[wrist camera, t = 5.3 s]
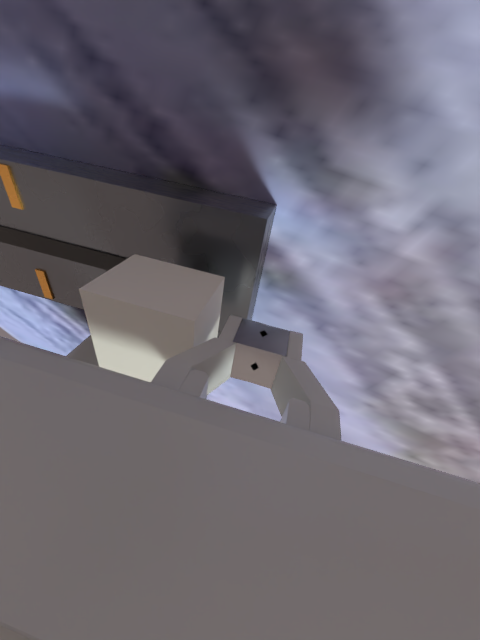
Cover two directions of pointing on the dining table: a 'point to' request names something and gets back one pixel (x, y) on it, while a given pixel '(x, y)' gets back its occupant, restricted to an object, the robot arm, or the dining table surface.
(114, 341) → the fader knob
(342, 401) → the dining table surface
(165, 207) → the fader panel
